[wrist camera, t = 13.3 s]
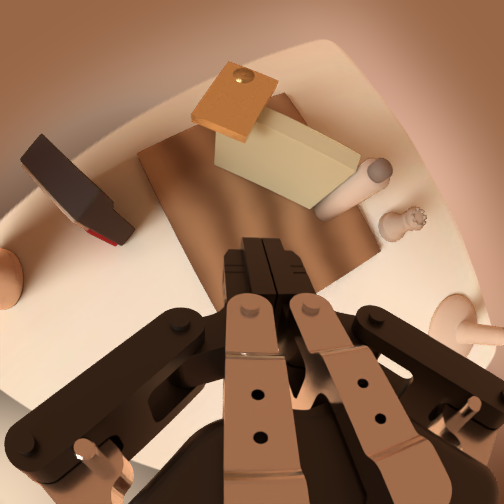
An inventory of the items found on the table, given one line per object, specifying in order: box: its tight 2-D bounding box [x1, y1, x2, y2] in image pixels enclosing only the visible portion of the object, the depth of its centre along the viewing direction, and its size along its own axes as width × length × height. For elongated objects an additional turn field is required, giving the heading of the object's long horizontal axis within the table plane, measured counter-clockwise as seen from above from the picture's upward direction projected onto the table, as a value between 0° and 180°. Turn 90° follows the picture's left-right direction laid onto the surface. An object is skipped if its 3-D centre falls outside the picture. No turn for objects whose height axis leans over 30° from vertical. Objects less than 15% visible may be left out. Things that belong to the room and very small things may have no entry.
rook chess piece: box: [379, 207, 427, 242], centre depth 39 cm, size 4×4×8 cm
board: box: [137, 93, 381, 312], centre depth 40 cm, size 24×28×1 cm
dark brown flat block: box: [20, 134, 135, 246], centre depth 30 cm, size 11×4×15 cm, turn 51°
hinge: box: [214, 107, 393, 221], centre depth 32 cm, size 18×3×16 cm, turn 66°
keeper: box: [191, 62, 278, 144], centre depth 32 cm, size 7×5×18 cm
